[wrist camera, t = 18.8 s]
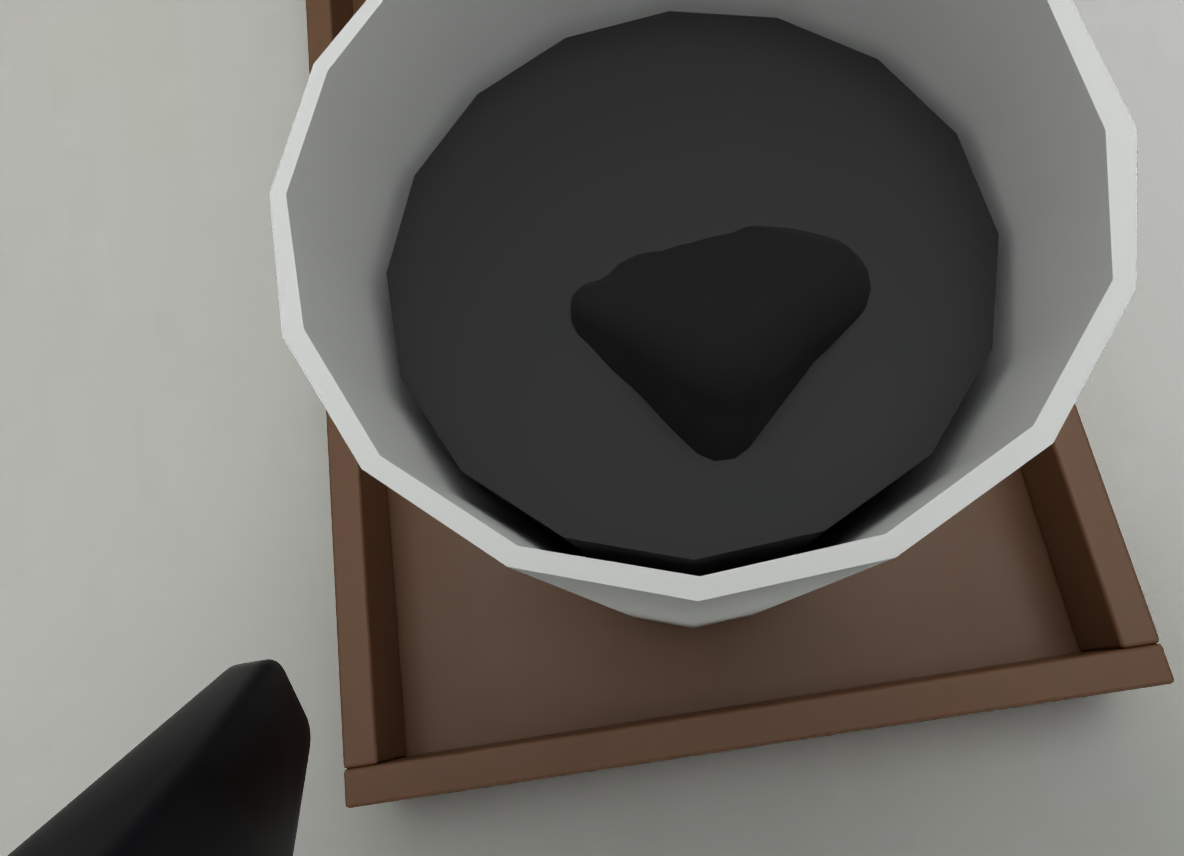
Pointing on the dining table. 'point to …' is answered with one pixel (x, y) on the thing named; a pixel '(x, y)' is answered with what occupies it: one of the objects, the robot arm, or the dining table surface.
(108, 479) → the dining table surface
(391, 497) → the tray
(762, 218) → the white paper cup
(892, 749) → the dining table surface
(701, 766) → the dining table surface
